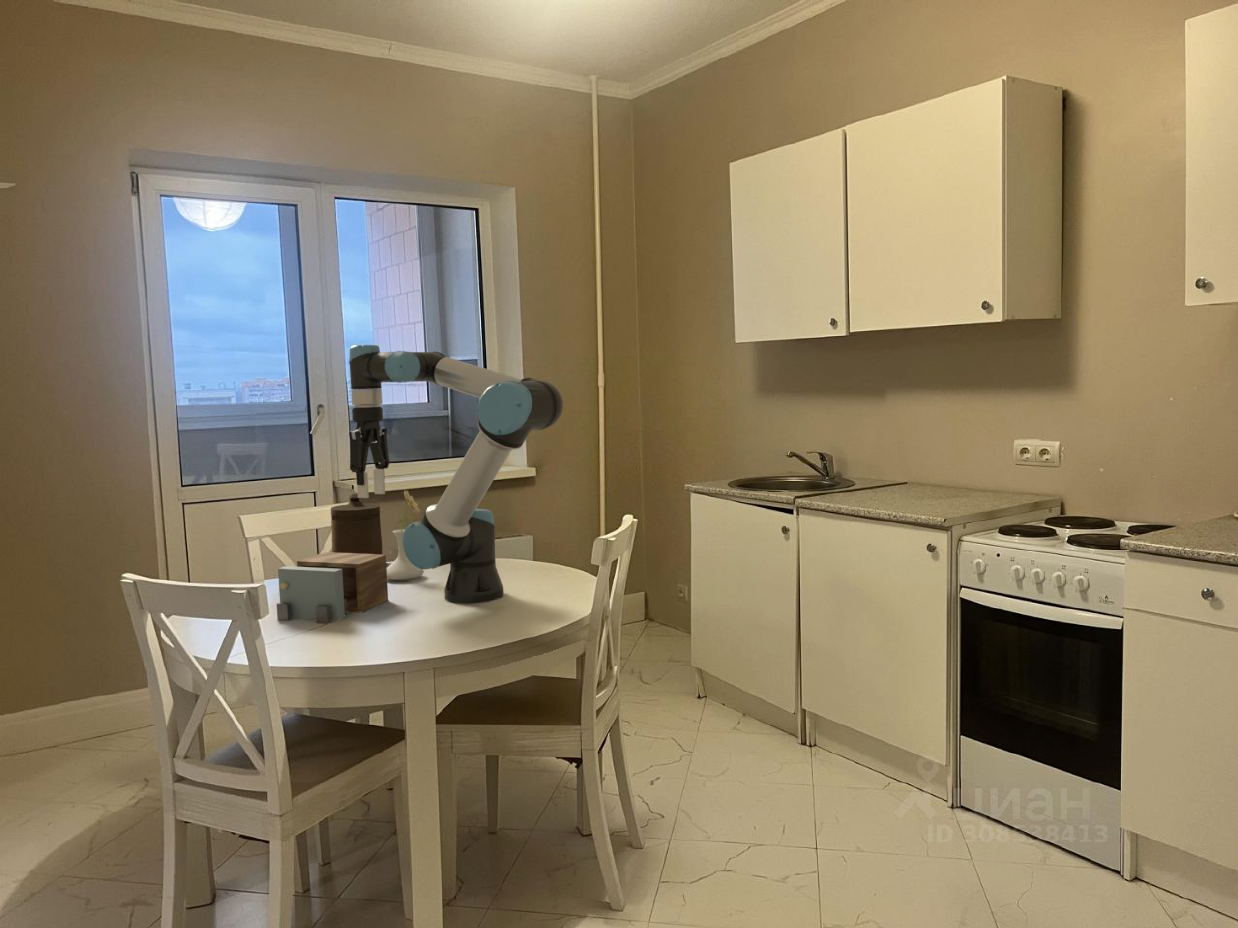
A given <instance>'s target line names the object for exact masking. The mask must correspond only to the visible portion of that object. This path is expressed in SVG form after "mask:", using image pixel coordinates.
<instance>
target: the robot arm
mask: <svg viewBox="0 0 1238 928" xmlns="http://www.w3.org/2000/svg"><path fill="white" fill-rule="evenodd" d="M348 357H349V361H348V363H349V375H350V376H349V377H350V389H351V390H350V391H351V405H352V406H354V407H352V409H351V412H352V413H351V414H352V415H351V419H352V422H353V423H356V428H355V430H350V431H349V433H348V434H349V435H348V436H349V439H350V440H349V441H350V444H349V445H350V446H349V450H350V451H349V452H350V453H349V469H350V471H351V472H352V473H355V475H356V476H355V477H356V487H357V488H356V489H357V491H356V492H357V494H358V498H361V499H369V497H370V496H369V478H368V474H369V473H368V471H366V469H367V461H368V455H369V448H370V453H371V456H372V460H373V463H374V467H375V468H373V486H374V487H373V488H374V494H375V495H385V494H386V484H385V482H386V481H385V475H386V474H385V469H388V468H389V465H390V456H389V448H388V439H387V435H388V434H387V433H388V430H387V429H388V428H387V427H381V425H380V422H382V421H383V420H384V416H383V415H384V413H383V412H384V411H383V410H384V409H383V407H382V406H381V405H382V404H383V393H382V392H383V391H382V383H400V384H401V383H413V382H428V383H431V384H434V385H437V386H441V387H444V388H447V389H451V390H454V391H457V392H459V393H462V394H463V393H464V394H466V395H469V396H472V397H475V398H477V399H479V401H478V404H477V410H478V413H477V416H478V420H477V427H478V429H479V432H478V433H477V435H476V437H475V438H474V440H473V442H472V444H471V445H470V447H469V449H468V451H466V454H465V456H464V457H463V459H462V461H461V463H460V464H459V465H458V468H457V469H456V471H455V473H454V474H453V476H452V478H451V480H450V481H449V483H448V484H447V486H446V488H445V490H444V492H443V493H442V495H441V497H440V499H439V500H438V502H437V503H435V504H431V505H429V506H428V507H427V508H426V510H425V511H424V514H423V515H422V517H421V519H420V520H419V521H415V522H412V523H411V524H410V523H409V524H408V526H407V527H406V528H405V529H404V530H405V531H404V533H403V539H402V542H403V547H404V552H405V554H406V556H407V558H408V560H409V561H410V562H411V563H412V564H413V565H414V566H416V567H417V568H420V569H423V570H429V569H433V570H434V569H437V568H439V567H442V566H446V565H449V564H450V565H449V567H450V568H449V572H448V576H447V580H446V583H445V587H444V599H445V600H446V601H448V602H452V603H460V604H473V603H475V604H476V603H486V602H490V601H494V600H499V599H500V598H502V597H503V596H504V595H503V594H504V584H503V582H502V579H501V577H500V576H501V575H500V574H499V572H498V571H499V570H498V569H497V565H496V564H497V563H496V535H495V534H496V532H495V531H496V529H495V527H496V524H495V517H494V513H493V512H492V511H491V510H489V509H484V508H478V507H479V505H480V503H481V502H482V500H483V498H484V497H485V495H486V493H487V492H488V491H489V488H490V487H491V485H492V483H493V481H494V480H495V478H496V477H497V475H498V473H499V471H500V470H501V468H502V467H503V465H504V463H505V462H506V461H507V459H508V457H509V455H510V453H511V452H512V451H513V450H518V449H520V448H521V447H522V446H523V444H524V443H525V442H526V440H527V438H528V437H529V435H530V434H531V432H534V431H542V430H546V429H549V428H550V427H551V428H552V427H553V426H555V424H556V423H558V421H559V419H561V417H562V414H563V411H564V399H563V396H562V393H561V392H560V390H559V389H558V388H557V387H556V386H555V384H552V383H551V382H549V381H545V380H539V379H536V378H532V377H528V376H526V377H523V378H518V377H514V376H511V375H508V374H505V373H501V372H499V371H494V370H491V369H487V368H485V367H481V366H478V365H475V364H471V363H468V362H465V361H461V360H458V359H455V358H452V357H450V355H448V354H447V353H445V352H439V351H427V352H426V351H418V352H417V351H406V350H403V351H402V350H395V351H388V352H387V351H386V352H381V350H380V346H379V345H377V344H358V345H357V344H356V345H355V344H354V345H352V346H351V347H349V356H348Z"/></svg>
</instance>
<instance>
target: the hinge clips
mask: <svg viewBox="0 0 1238 928" xmlns="http://www.w3.org/2000/svg"><path fill="white" fill-rule="evenodd" d="M344 610H345V617H346V616H348V611H347V599H344ZM276 616H277V619H278V620H277V621H287V620H288V621H290V620H293V618H292V610H291V603H288V602H280V601H279V602H277V603H276ZM315 621H316V623H317V624H330V623H331V622H332V621H331V610H330V605H317V606H316V620H315ZM329 622H330V623H329Z"/></svg>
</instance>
